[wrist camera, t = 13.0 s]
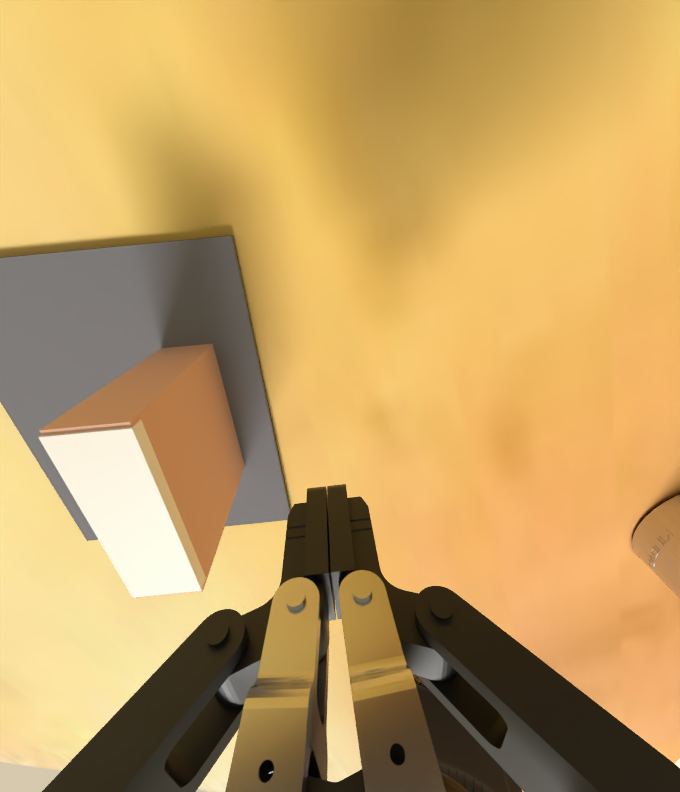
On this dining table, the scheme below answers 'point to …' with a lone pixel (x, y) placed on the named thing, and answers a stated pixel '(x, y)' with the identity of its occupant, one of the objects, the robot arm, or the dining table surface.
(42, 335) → the mat
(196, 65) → the dining table surface
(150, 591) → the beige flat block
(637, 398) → the dining table surface
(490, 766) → the magazine
